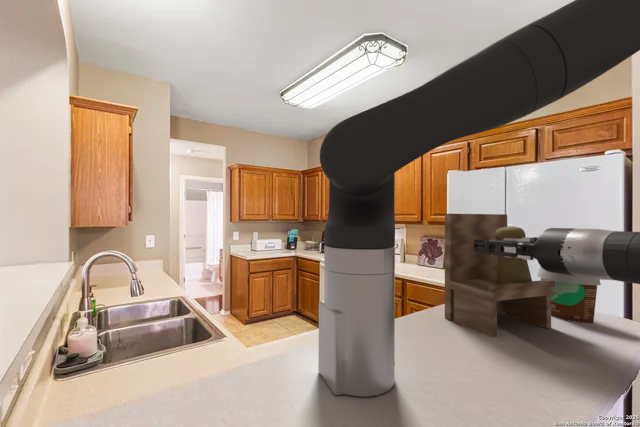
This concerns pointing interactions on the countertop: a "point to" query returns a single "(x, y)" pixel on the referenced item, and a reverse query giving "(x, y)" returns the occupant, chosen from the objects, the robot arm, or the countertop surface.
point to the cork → (511, 259)
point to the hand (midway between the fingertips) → (491, 244)
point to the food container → (572, 296)
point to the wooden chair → (486, 279)
